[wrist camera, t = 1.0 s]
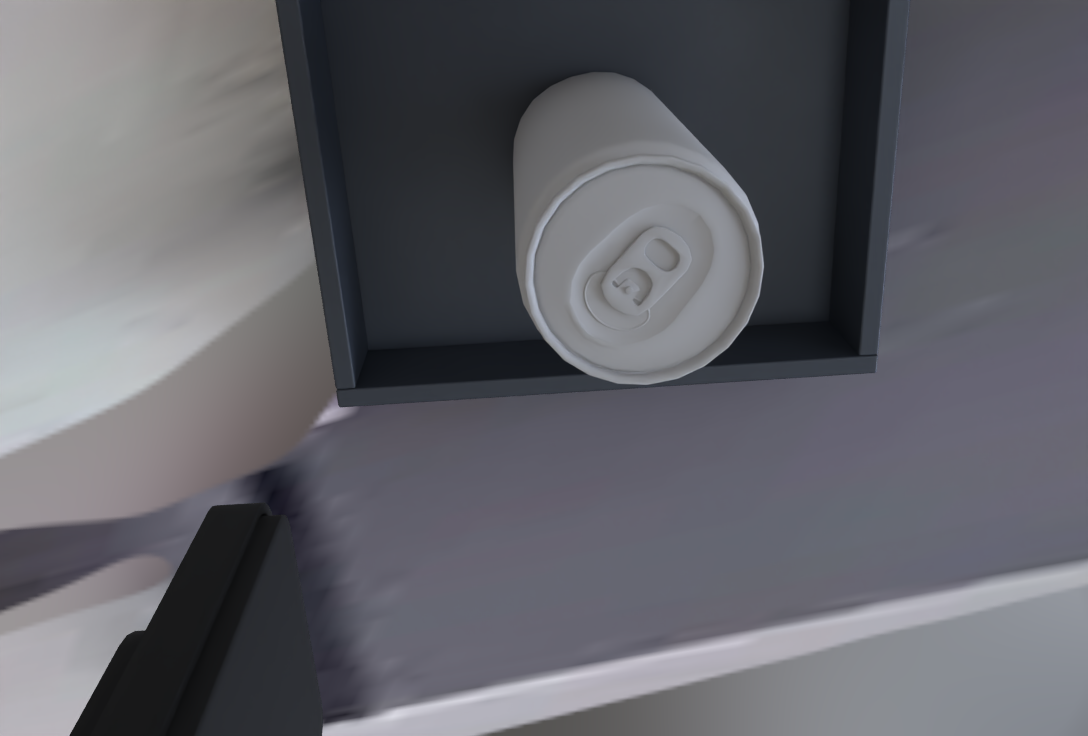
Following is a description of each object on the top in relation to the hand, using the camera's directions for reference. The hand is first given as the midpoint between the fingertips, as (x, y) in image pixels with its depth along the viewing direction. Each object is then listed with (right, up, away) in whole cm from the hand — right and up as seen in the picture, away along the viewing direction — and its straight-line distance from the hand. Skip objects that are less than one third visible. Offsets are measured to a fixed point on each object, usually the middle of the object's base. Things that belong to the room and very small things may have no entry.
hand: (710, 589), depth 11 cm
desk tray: (0, +9, +19) cm, 21 cm away
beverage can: (0, +9, +19) cm, 21 cm away
